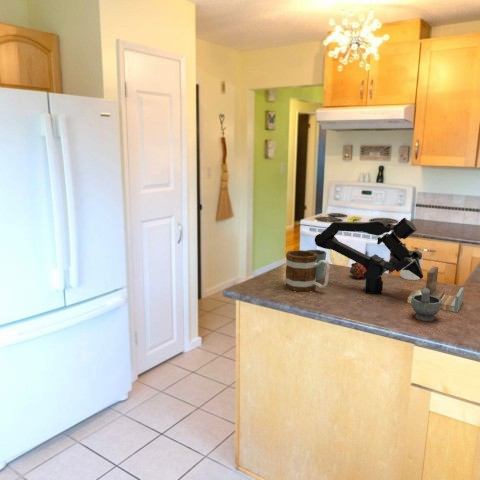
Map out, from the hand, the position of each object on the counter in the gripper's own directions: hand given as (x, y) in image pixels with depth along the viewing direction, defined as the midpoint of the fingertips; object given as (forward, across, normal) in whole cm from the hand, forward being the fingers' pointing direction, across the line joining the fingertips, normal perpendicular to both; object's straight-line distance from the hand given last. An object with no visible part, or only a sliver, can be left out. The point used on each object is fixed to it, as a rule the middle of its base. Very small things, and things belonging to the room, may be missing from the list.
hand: (422, 277), depth 168 cm
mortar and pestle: (+10, +19, -2) cm, 22 cm away
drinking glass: (-27, -5, -41) cm, 49 cm away
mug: (-23, +13, -37) cm, 45 cm away
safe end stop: (+16, 0, +3) cm, 16 cm away
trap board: (+10, 0, -3) cm, 10 cm away
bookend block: (+9, 0, -1) cm, 9 cm away
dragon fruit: (-15, -18, -28) cm, 36 cm away
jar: (-1, -30, -14) cm, 33 cm away
